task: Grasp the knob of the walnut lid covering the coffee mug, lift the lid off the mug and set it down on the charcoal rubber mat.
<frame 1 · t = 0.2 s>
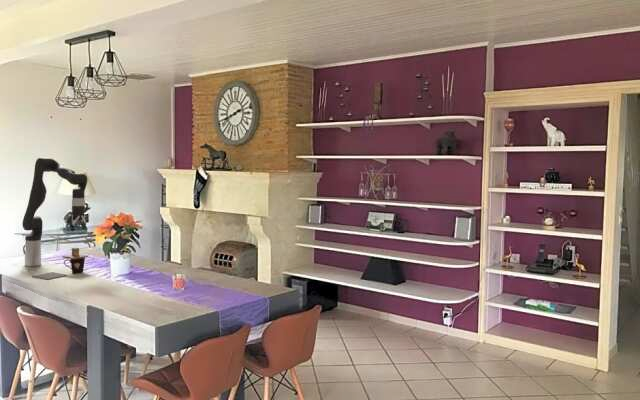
hand: (78, 230, 338), 28 cm above the table, tool pointing down, fingers open, 8 cm apart
coffee mug: (75, 272, 342), on the table, touching lid
mat: (50, 276, 328), on the table
lid: (75, 257, 341), point 10 cm above the table, touching coffee mug
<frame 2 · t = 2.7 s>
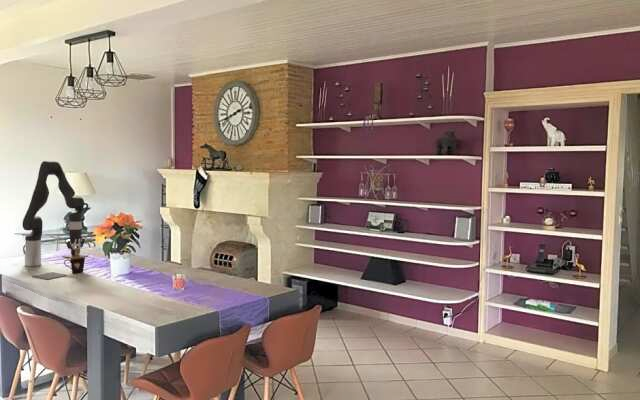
hand: (75, 254, 341), 12 cm above the table, tool pointing down, fingers closed on lid, 3 cm apart
lid: (75, 257, 341), point 10 cm above the table, touching coffee mug, gripper
everything else where it was.
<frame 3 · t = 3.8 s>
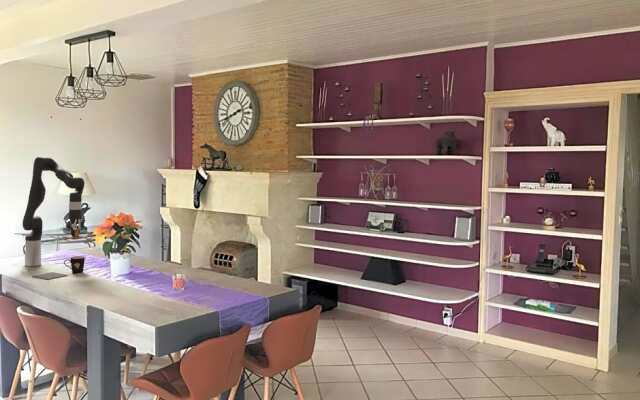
hand: (75, 235, 340), 24 cm above the table, tool pointing down, fingers closed on lid, 3 cm apart
coffee mug: (75, 272, 342), on the table
lid: (75, 237, 340), point 23 cm above the table, touching gripper
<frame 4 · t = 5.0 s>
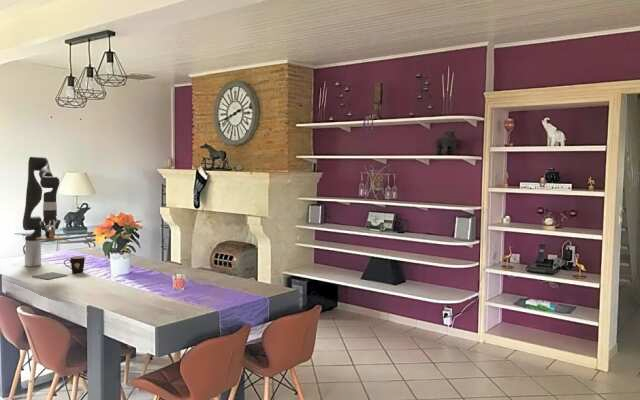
hand: (50, 236, 327), 25 cm above the table, tool pointing down, fingers closed on lid, 3 cm apart
lid: (50, 239, 327), point 23 cm above the table, touching gripper
everything else where it was.
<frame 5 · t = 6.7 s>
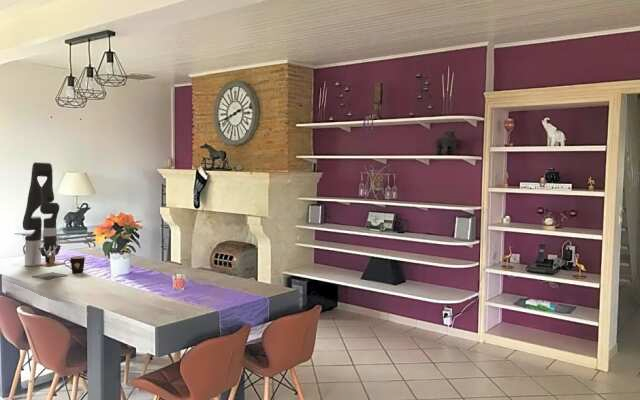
hand: (50, 262, 328), 9 cm above the table, tool pointing down, fingers closed on lid, 3 cm apart
lid: (50, 264, 328), point 7 cm above the table, touching gripper
everything else where it was.
when the fingers open (3 cm above the table, at t = 7.7 s): lid drops 1 cm, resting on mat.
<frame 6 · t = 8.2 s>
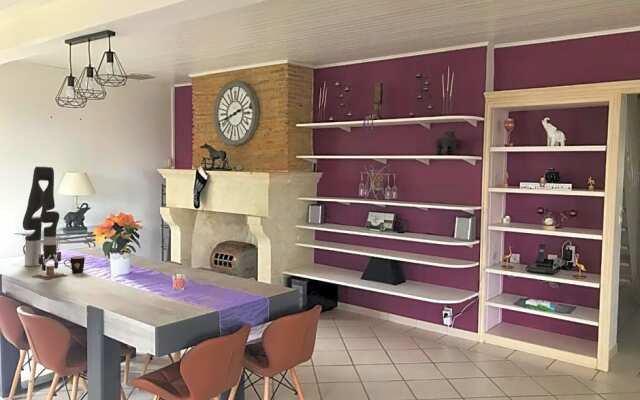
hand: (50, 269, 328), 4 cm above the table, tool pointing down, fingers open, 7 cm apart
lid: (50, 275, 328), point 1 cm above the table, touching mat
everything else where it was.
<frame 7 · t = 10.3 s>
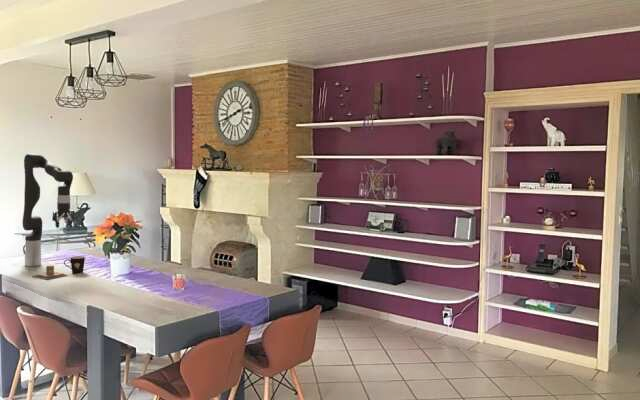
hand: (63, 226, 342), 29 cm above the table, tool pointing down, fingers open, 8 cm apart
nothing on the table moved.
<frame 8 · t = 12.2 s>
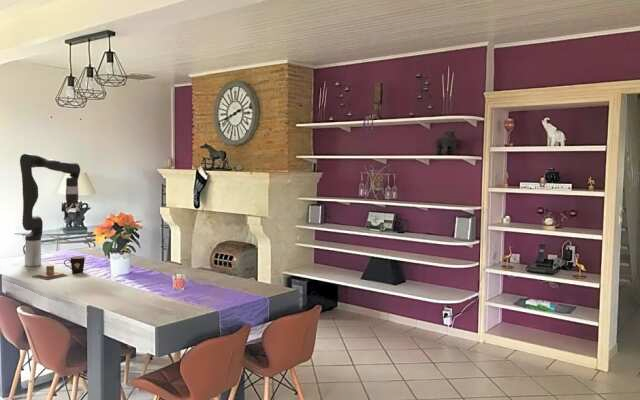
hand: (72, 217, 352), 34 cm above the table, tool pointing down, fingers open, 8 cm apart
nothing on the table moved.
at the end: lid inside the target area on the mat (0.1 cm from its centre), point 0.6 cm above the mat's base; the gripper is holding nothing; coffee mug moved 0.2 cm from its start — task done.
